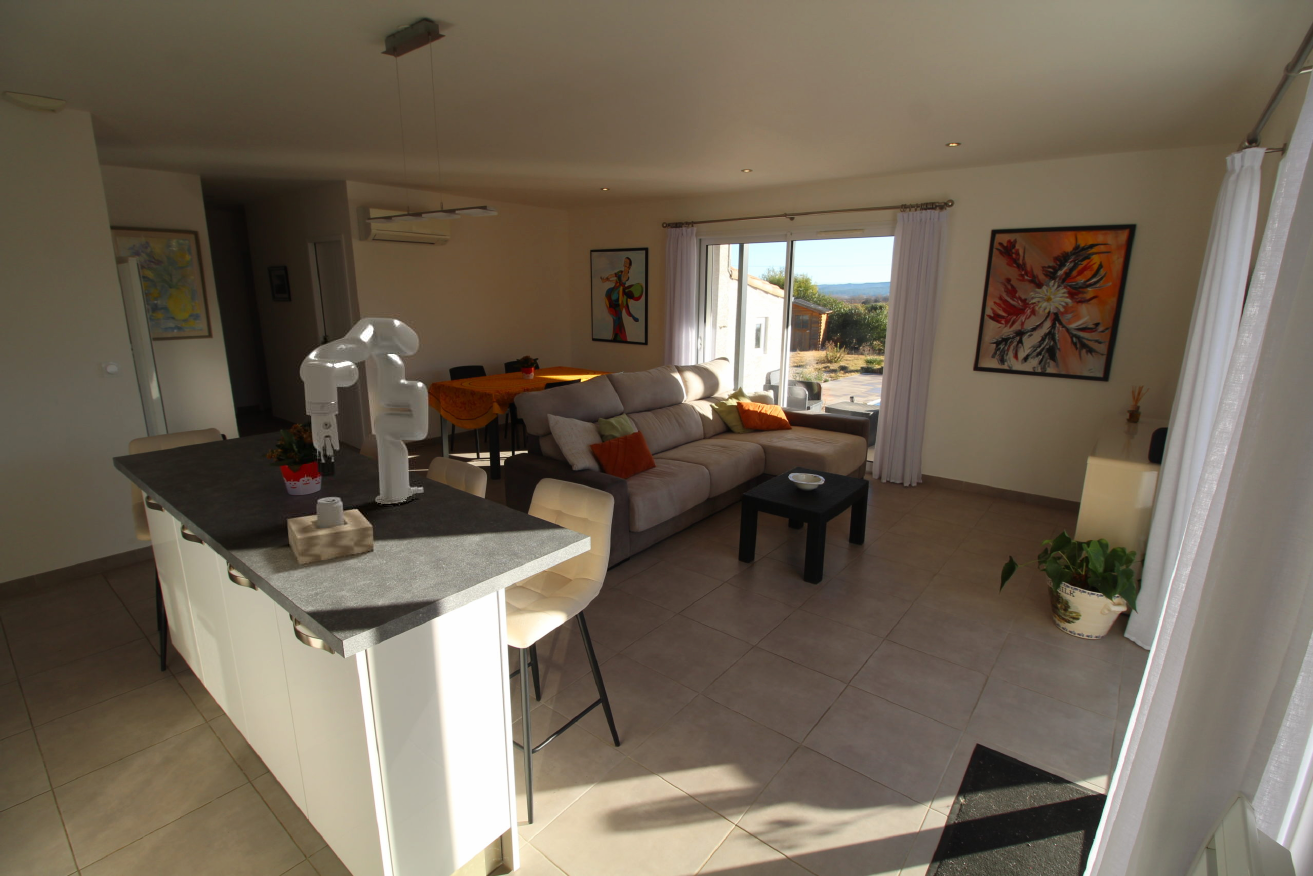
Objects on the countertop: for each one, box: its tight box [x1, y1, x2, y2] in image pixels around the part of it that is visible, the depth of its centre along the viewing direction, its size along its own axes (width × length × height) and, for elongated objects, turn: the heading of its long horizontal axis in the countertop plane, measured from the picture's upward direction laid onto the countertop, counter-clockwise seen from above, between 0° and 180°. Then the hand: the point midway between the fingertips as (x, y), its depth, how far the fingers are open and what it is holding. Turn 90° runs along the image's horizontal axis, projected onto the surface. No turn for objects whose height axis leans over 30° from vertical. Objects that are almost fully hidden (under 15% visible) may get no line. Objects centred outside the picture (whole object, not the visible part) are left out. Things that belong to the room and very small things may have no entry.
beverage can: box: [315, 496, 344, 529], centre depth 168 cm, size 6×6×12 cm
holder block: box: [286, 508, 374, 565], centre depth 170 cm, size 18×18×7 cm
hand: (326, 473), depth 166 cm, fingers open, 4 cm apart
